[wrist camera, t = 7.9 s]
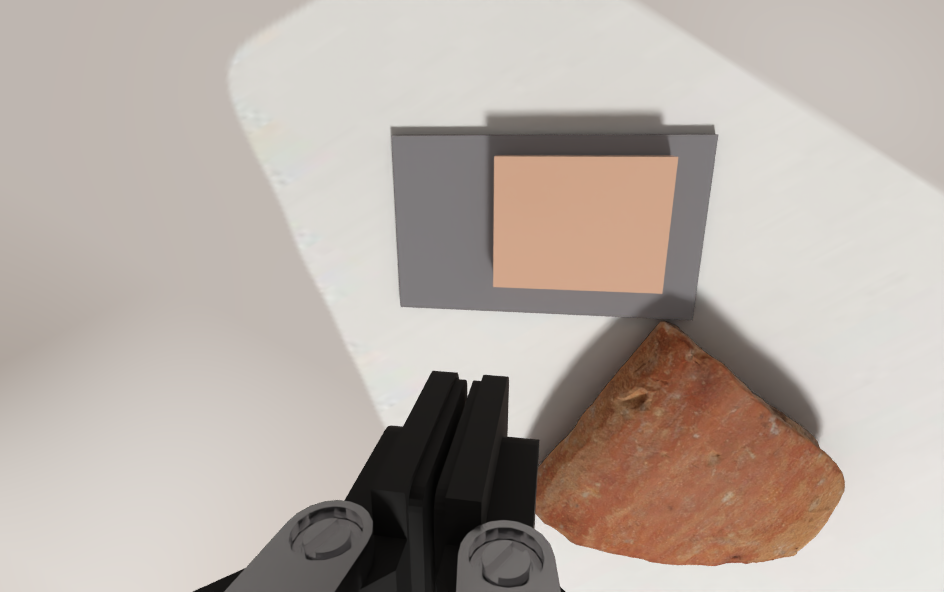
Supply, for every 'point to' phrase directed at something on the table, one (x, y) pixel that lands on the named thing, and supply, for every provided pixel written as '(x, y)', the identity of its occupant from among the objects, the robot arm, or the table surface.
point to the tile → (582, 221)
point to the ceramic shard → (686, 466)
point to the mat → (472, 223)
